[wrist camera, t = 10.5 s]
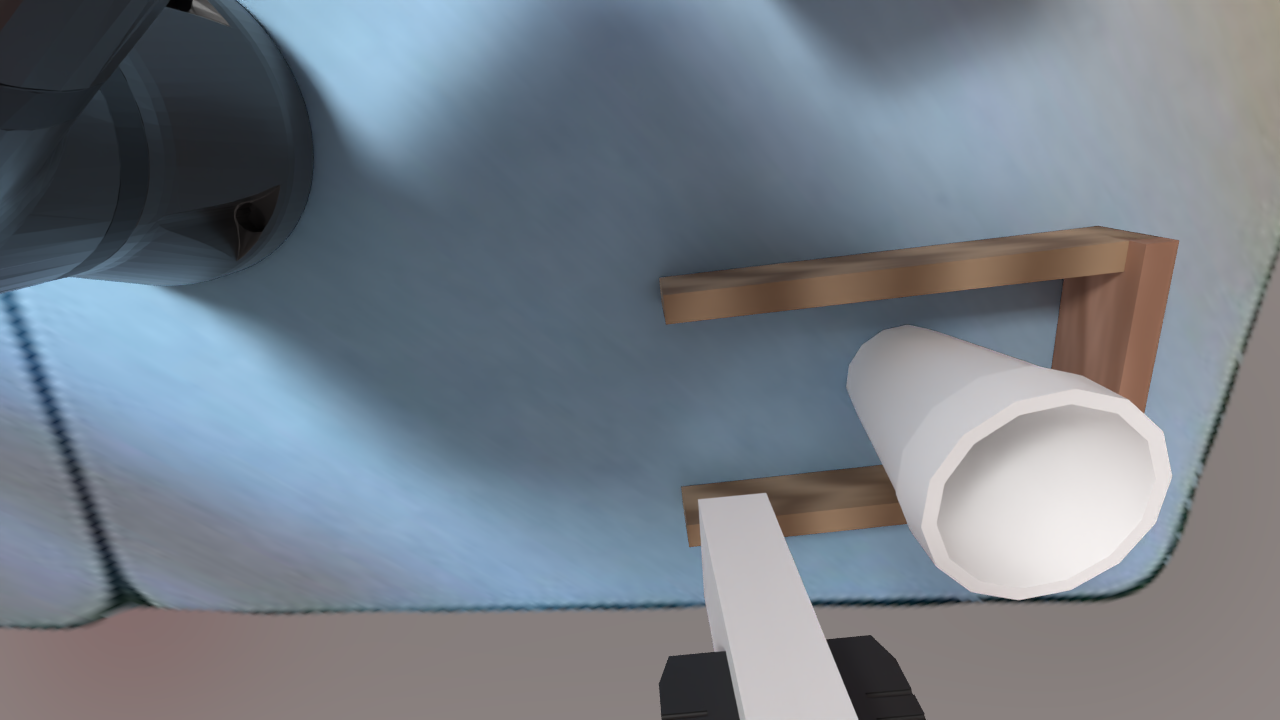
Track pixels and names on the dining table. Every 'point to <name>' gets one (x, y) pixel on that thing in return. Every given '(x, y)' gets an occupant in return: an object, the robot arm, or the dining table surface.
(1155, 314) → the wooden frame
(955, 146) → the dining table surface
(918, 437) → the foam cup
